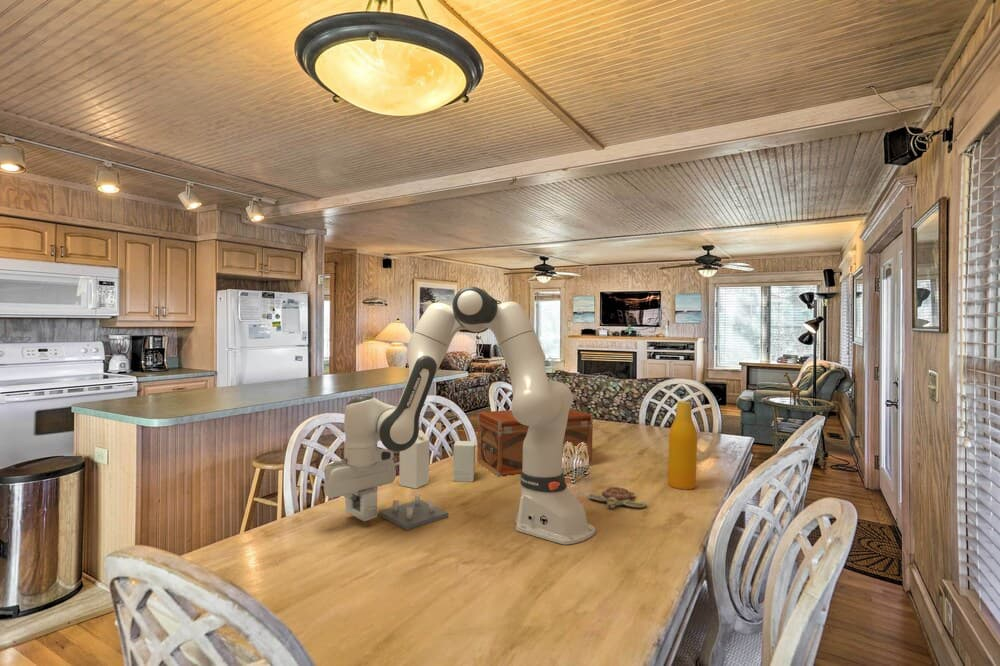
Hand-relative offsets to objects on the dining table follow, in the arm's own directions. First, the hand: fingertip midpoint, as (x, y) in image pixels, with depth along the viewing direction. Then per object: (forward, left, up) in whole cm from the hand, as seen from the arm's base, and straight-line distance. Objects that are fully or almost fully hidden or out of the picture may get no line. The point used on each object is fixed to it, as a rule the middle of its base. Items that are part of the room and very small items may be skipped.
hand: (361, 505), depth 141 cm
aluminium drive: (0, 0, -2) cm, 2 cm away
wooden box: (+7, -79, -5) cm, 79 cm away
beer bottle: (-44, -98, -5) cm, 108 cm away
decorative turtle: (-38, -67, -5) cm, 77 cm away
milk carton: (+17, -29, -5) cm, 34 cm away
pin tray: (-6, -13, -4) cm, 15 cm away
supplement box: (+11, -46, -5) cm, 47 cm away
